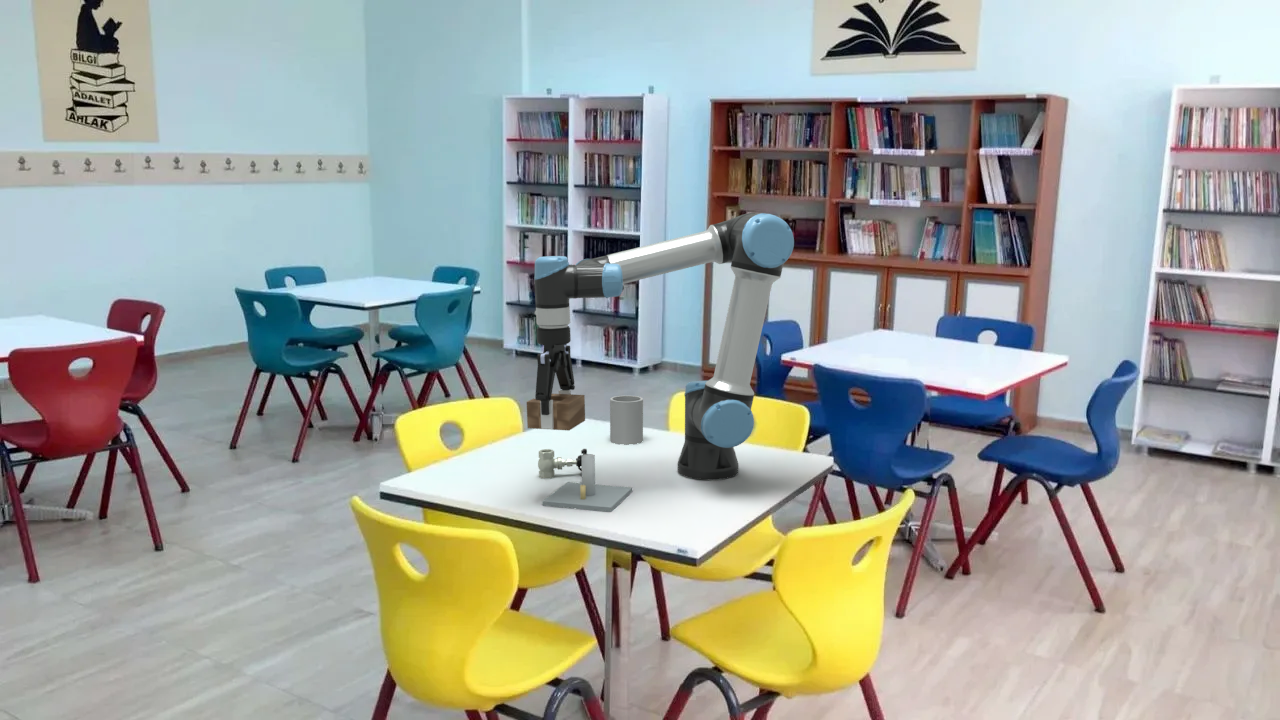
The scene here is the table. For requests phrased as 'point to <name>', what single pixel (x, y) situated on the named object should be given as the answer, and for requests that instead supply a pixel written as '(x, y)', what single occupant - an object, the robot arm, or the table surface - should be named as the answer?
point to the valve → (555, 463)
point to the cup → (626, 420)
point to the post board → (590, 502)
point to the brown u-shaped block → (558, 411)
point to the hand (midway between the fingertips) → (556, 423)
